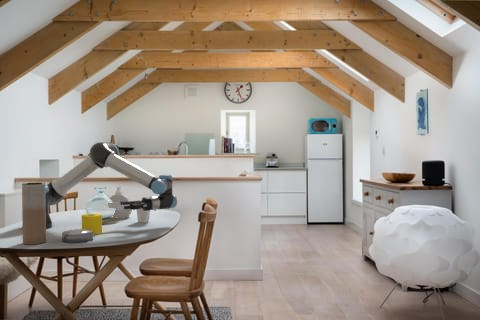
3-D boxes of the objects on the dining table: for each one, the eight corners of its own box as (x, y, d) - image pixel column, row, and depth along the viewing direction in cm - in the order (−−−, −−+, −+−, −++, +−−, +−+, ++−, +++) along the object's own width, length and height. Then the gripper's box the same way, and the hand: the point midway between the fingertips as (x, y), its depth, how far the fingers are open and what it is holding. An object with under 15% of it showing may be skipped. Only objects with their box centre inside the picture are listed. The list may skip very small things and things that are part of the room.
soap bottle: (105, 218, 286) (104, 186, 285) (107, 216, 291) (107, 185, 290) (130, 218, 285) (130, 186, 285) (132, 216, 291) (132, 185, 290)
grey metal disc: (58, 239, 220) (58, 231, 220) (88, 236, 228) (88, 228, 228) (66, 244, 208) (66, 235, 208) (96, 240, 216) (96, 232, 216)
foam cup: (132, 221, 272) (132, 200, 271) (146, 220, 278) (146, 198, 277) (140, 223, 264) (140, 201, 264) (154, 222, 271) (154, 200, 270)
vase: (18, 244, 208) (17, 184, 207) (31, 240, 218) (30, 182, 217) (37, 245, 206) (37, 184, 205) (50, 240, 216) (49, 182, 215)
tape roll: (80, 232, 238) (80, 214, 238) (100, 230, 242) (100, 213, 242) (82, 235, 229) (82, 217, 229) (103, 234, 233) (103, 215, 233)
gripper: (159, 212, 244) (121, 216, 231) (141, 208, 264) (105, 211, 252) (159, 198, 243) (121, 201, 231) (141, 195, 264) (105, 197, 252)
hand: (112, 206), depth 241 cm, fingers open, 13 cm apart
